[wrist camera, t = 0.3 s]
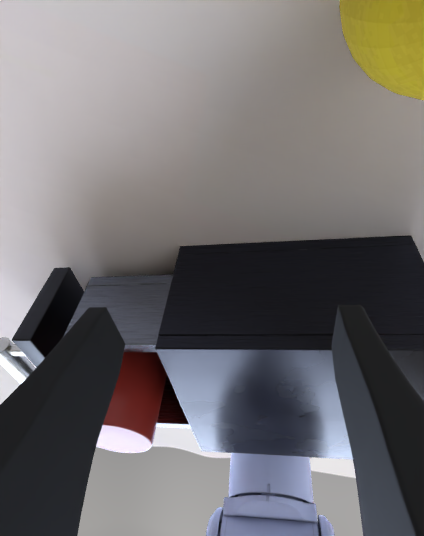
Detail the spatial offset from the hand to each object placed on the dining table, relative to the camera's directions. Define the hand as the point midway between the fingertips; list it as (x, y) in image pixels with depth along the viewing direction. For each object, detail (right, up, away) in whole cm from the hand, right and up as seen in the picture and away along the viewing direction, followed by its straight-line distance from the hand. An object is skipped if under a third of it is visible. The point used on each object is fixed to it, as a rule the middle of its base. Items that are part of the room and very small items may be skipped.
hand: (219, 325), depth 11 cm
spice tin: (-5, -3, +15) cm, 16 cm away
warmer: (+5, -1, +15) cm, 16 cm away
